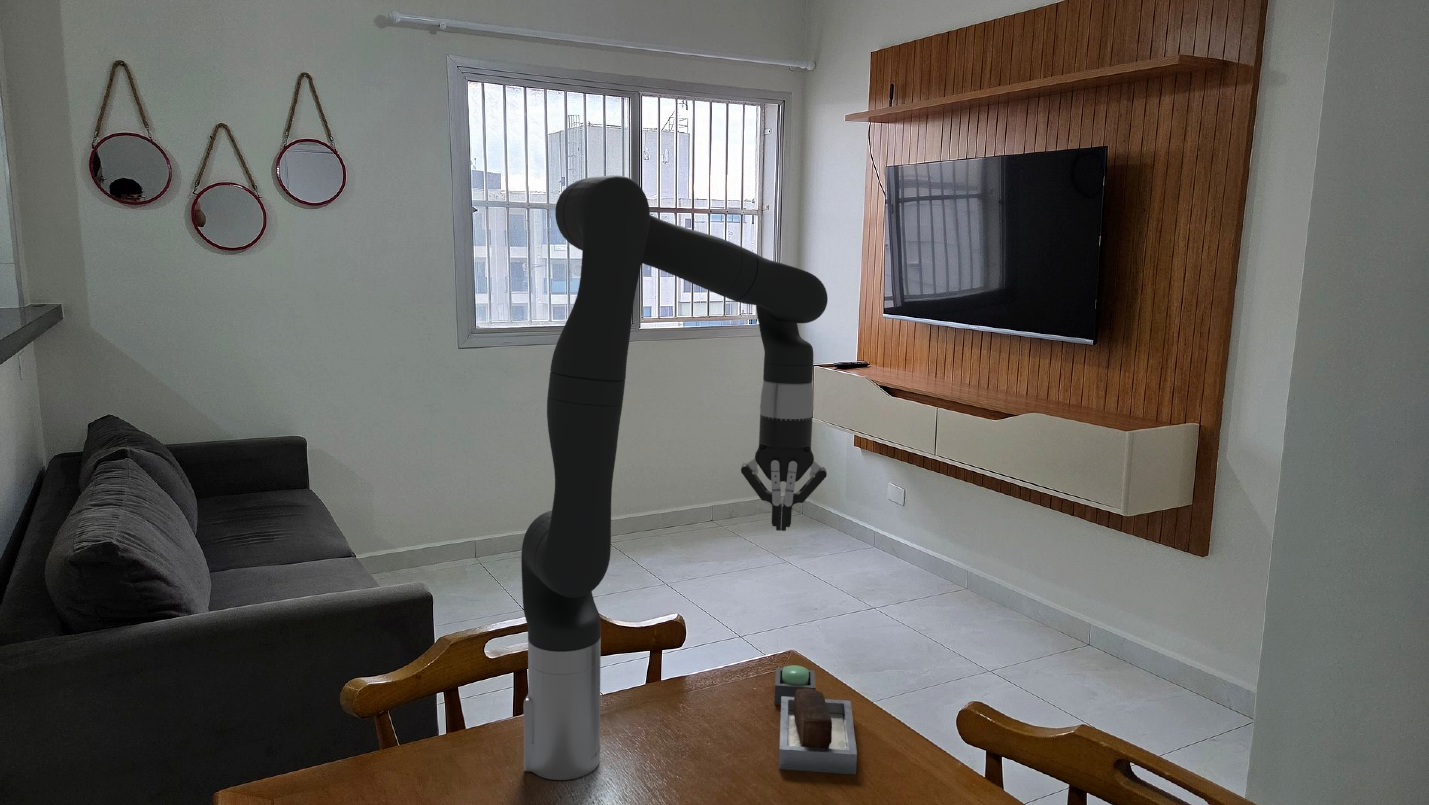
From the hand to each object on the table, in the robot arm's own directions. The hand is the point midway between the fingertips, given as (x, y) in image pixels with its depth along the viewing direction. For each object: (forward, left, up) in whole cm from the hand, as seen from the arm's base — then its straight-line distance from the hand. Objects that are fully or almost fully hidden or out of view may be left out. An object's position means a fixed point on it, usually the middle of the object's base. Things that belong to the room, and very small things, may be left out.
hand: (781, 529), depth 138 cm
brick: (+5, -11, -26) cm, 29 cm away
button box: (+3, +2, -27) cm, 27 cm away
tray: (+6, -11, -27) cm, 30 cm away
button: (+3, +2, -25) cm, 25 cm away
